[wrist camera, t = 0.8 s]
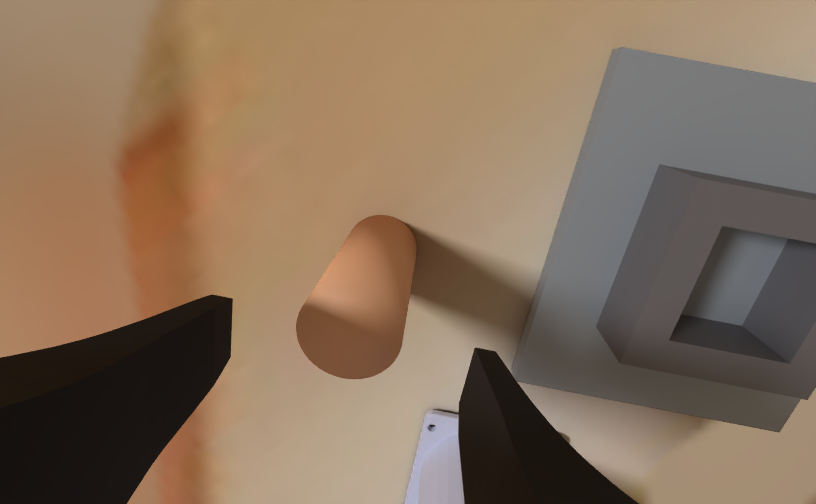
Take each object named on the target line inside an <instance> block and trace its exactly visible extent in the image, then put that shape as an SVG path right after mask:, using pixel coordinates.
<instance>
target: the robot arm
mask: <svg viewBox="0 0 816 504" xmlns="http://www.w3.org/2000/svg"><path fill="white" fill-rule="evenodd" d="M232 301H233V299H232V298H227V297H222V296H217V295H209V296H206V297H203V298H200V299H197V300H194V301H191V302H189V303H186V304H184V305H181V306H178V307H176V308H173V309H171V310H168V311H165V312H163V313H160V314H157V315H155V316H152V317H150V318H147V319H144V320H141V321H138V322H135V323H133V324H130V325H127V326H124V327H121V328H118V329H115V330H112V331H109V332H106V333H103V334H100V335H96V336H93V337H90V338H86V339H82V340H79V341H75V342H71V343H67V344H63V345H59V346H55V347H51V348H46V349H42V350H37V351H32V352H27V353H22V354H17V355H13V356H7V357H2V358H0V504H127V502H128V501H129V499H130V498H131V496H132V494H133V493H134V491H135V490H136V488H137V486H138V485H139V484H140V482H141V481H142V479H143V478H144V476H145V475H146V473H147V471H148V470H149V468H150V467H151V465H152V464H153V463H154V461H155V460H156V458H157V457H158V456H159V454H160V453H161V452H162V450H163V449H164V448H165V446H166V445H167V444H168V443H169V441H170V440H171V439H172V438H173V436H174V435H175V434H176V433H177V431H178V430H179V429H180V428H181V426H182V425H183V424H184V423H185V421H186V420H187V419H188V418H189V416H190V415H191V414H192V413H193V411H194V410H195V409H196V408H197V406H198V405H199V404H200V403H201V401H202V400H203V399H204V397H205V396H206V395H207V394H208V392H209V391H210V390H211V388H212V387H213V386H214V384H215V383H216V381H217V379H218V378H219V376H220V374H221V373H222V371H223V369H224V367H225V366H226V364H227V362H228V360H229V359H230V357H231V330H232ZM430 424H433V425H435V426H434V427H431V426H429V425H430ZM404 504H639V503H637V502H636V501H635V500H633V499H632V498H631V497H629V496H628V495H627V494H625V493H624V492H623V491H622V490H620V489H619V488H618V487H617V486H615V485H614V484H613V483H612V482H610V481H609V480H608V479H607V478H606V477H605V476H603V475H602V474H601V473H600V472H599V471H598V470H596V469H595V468H594V467H593V466H592V465H591V464H590V463H588V462H587V461H586V460H585V459H584V458H583V457H582V456H581V455H580V454H579V453H578V452H577V451H576V450H575V449H574V448H573V447H572V446H571V445H570V444H569V443H568V442H567V441H566V440H565V439H564V438H563V437H562V436H561V435H560V434H559V433H558V432H557V431H556V430H555V429H554V428H553V426H552V425H551V424H550V423H549V422H548V421H547V420H546V418H545V417H544V416H543V415H542V414H541V412H540V411H539V410H538V409H537V408H536V406H535V405H534V404H533V403H532V401H531V400H530V399H529V398H528V396H527V395H526V394H525V392H524V391H523V390H522V388H521V387H520V385H519V384H518V383H517V381H516V380H515V379H514V377H513V376H512V374H511V373H510V371H509V370H508V369H507V367H506V366H505V364H504V363H503V361H502V360H501V358H500V357H499V356H498V354H497V353H496V352H495V351H490V350H485V349H480V348H475V349H474V353H473V356H472V360H471V363H470V367H469V370H468V374H467V377H466V381H465V384H464V388H463V391H462V395H461V399H460V402H459V415H458V414H453V413H448V412H442V411H437V410H430V411H428V412H427V413H426V415H425V418H424V422H423V427H422V431H421V435H420V439H419V443H418V447H417V452H416V456H415V460H414V464H413V468H412V472H411V477H410V481H409V485H408V489H407V493H406V498H405V502H404Z"/></svg>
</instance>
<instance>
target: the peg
mask: <svg viewBox="0 0 816 504" xmlns="http://www.w3.org/2000/svg"><path fill="white" fill-rule="evenodd" d="M416 256H417V244H416V240H415V237H414V235H413V233H412V232H411V230H410V229H409V228H408V226H406V225H405V224H404V223H403V222H402V221H400V220H398V219H396V218H394V217H391V216H386V215H375V216H371V217H368V218H365V219H364V220H362V221H360V222H359V223H358V224H357V225H356V226H355V227H354V228H353V230H352V231H351V233H350V234H349V236H348V237H347V239H346V241H345V242H344V244H343V245H342V247H341V248H340V250H339V251H338V253H337V254H336V256H335V257H334V259H333V260H332V262H331V264H330V265H329V267H328V268H327V270H326V271H325V273H324V274H323V276H322V277H321V279H320V280H319V282H318V283H317V285H316V287H315V288H314V290H313V291H312V293H311V294H310V296H309V297H308V299H307V300H306V302H305V303H304V305H303V306H302V308H301V310H300V312H299V315H298V318H297V323H296V332H297V338H298V342H299V344H300V346H301V349H302V350H303V352H304V354H305V355H306V356H307V357H308V359H309V360H310V361H311V362H312V363H313V364H315V365H316V366H317V367H318V368H320V369H321V370H323V371H325V372H327V373H329V374H331V375H334V376H337V377H341V378H346V379H363V378H368V377H372V376H375V375H377V374H379V373H381V372H383V371H384V370H386V369H387V368H388V367H389V366H390V365H391V364H392V363H393V362H394V361H395V359H396V358H397V356H398V354H399V352H400V349H401V346H402V340H403V334H404V328H405V322H406V316H407V310H408V304H409V298H410V292H411V286H412V280H413V274H414V268H415V262H416Z"/></svg>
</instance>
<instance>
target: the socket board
mask: <svg viewBox="0 0 816 504" xmlns="http://www.w3.org/2000/svg"><path fill="white" fill-rule="evenodd" d="M511 371H512V375H513V377H514V379H515V380H516V381H517V382H522V383H527V384H533V385H538V386H543V387H548V388H553V389H558V390H563V391H569V392H574V393H579V394H584V395H589V396H594V397H600V398H605V399H610V400H615V401H620V402H625V403H630V404H636V405H641V406H646V407H651V408H656V409H661V410H666V411H672V412H677V413H682V414H687V415H692V416H697V417H702V418H708V419H713V420H718V421H723V422H729V423H734V424H739V425H744V426H749V427H754V428H759V429H764V430H770V431H775V432H780V431H781V429H782V427H783V426H784V424H785V423H786V421H787V420H788V418H789V417H790V415H791V413H792V412H793V410H794V409H795V407H796V406H797V404H798V403H799V401H800V399H806V400H808V398H809V397H810V395H811V394H812V392H813V391H814V389H815V388H816V83H813V82H807V81H802V80H796V79H791V78H785V77H780V76H775V75H769V74H764V73H758V72H753V71H748V70H742V69H737V68H731V67H726V66H721V65H715V64H710V63H704V62H699V61H694V60H688V59H683V58H677V57H672V56H667V55H661V54H656V53H650V52H645V51H640V50H634V49H629V48H623V47H622V48H618V49H613V51H612V54H611V57H610V60H609V63H608V67H607V70H606V73H605V76H604V79H603V82H602V85H601V89H600V92H599V95H598V98H597V101H596V104H595V107H594V111H593V114H592V117H591V120H590V123H589V126H588V129H587V133H586V136H585V139H584V142H583V145H582V148H581V151H580V154H579V158H578V161H577V164H576V167H575V170H574V173H573V176H572V180H571V183H570V186H569V189H568V192H567V195H566V198H565V202H564V205H563V208H562V211H561V214H560V217H559V220H558V224H557V227H556V230H555V233H554V236H553V239H552V242H551V246H550V249H549V252H548V255H547V258H546V261H545V264H544V268H543V271H542V274H541V277H540V280H539V283H538V286H537V290H536V293H535V296H534V299H533V302H532V305H531V308H530V312H529V315H528V318H527V321H526V324H525V327H524V330H523V334H522V337H521V340H520V343H519V346H518V349H517V352H516V355H515V359H514V362H513V365H512V368H511Z"/></svg>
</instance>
